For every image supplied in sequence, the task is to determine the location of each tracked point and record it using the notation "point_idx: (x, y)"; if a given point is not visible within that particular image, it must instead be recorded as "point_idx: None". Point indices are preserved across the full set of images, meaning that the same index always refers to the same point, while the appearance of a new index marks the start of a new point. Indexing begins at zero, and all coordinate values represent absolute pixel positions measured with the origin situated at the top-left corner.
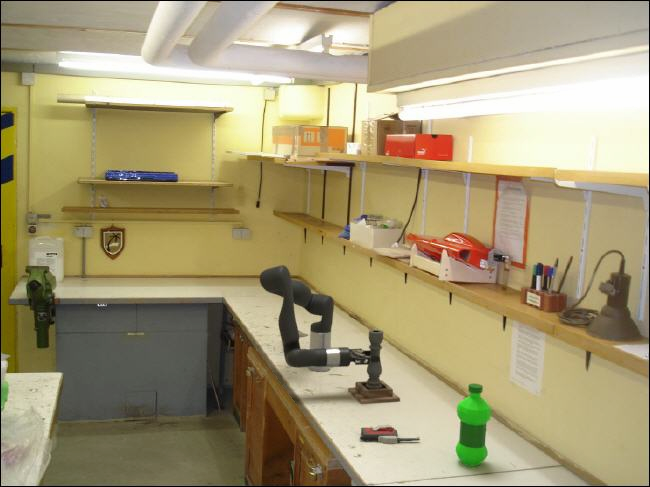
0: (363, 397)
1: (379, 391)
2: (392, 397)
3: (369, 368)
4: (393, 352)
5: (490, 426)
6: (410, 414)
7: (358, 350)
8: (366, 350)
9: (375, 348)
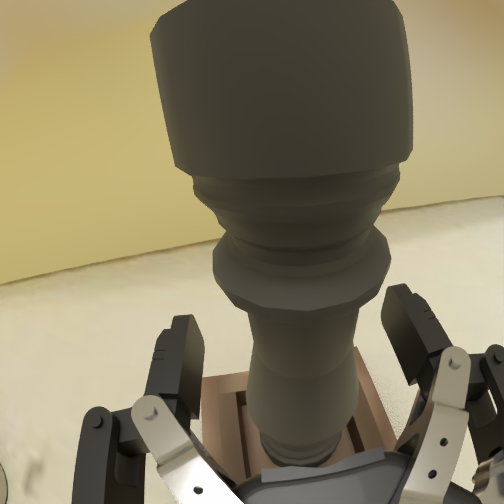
0: None
1: (367, 407)
2: None
3: (338, 422)
4: (10, 292)
5: (442, 218)
6: (458, 325)
7: (207, 493)
8: (160, 377)
9: (387, 247)
